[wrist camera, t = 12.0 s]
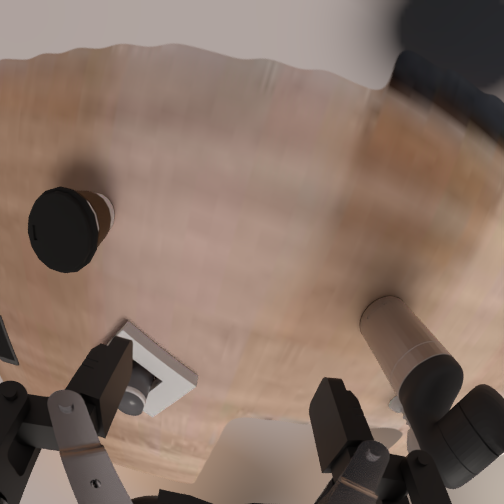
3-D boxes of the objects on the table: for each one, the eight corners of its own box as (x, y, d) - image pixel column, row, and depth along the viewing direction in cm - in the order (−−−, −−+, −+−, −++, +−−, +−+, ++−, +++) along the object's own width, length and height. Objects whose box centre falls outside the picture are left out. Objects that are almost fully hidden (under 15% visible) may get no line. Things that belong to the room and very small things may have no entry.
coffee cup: (71, 245, 44) (30, 272, 33) (68, 178, 41) (21, 189, 29) (130, 249, 44) (96, 280, 33) (129, 177, 41) (90, 187, 30)
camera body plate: (198, 375, 52) (195, 390, 48) (155, 407, 55) (151, 420, 51) (128, 320, 48) (120, 333, 44) (92, 360, 51) (85, 372, 47)
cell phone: (2, 359, 53) (0, 360, 52) (-17, 310, 48) (-19, 311, 48) (20, 364, 53) (19, 366, 52) (1, 313, 49) (-1, 315, 48)
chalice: (415, 399, 57) (447, 455, 40) (391, 416, 58) (418, 473, 41) (406, 385, 55) (440, 445, 38) (380, 403, 56) (408, 465, 39)
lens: (161, 370, 52) (149, 408, 42) (146, 383, 53) (133, 419, 43) (139, 353, 50) (122, 389, 41) (125, 367, 51) (108, 402, 42)
